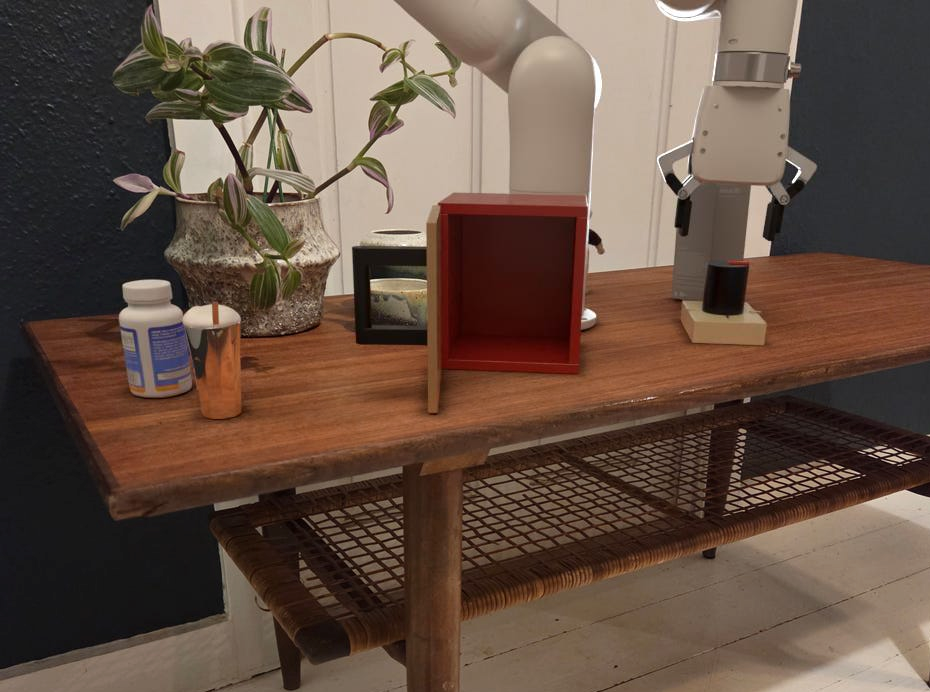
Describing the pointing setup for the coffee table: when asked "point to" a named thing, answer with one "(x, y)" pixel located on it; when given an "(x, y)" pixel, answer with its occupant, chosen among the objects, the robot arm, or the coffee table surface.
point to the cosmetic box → (710, 236)
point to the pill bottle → (154, 340)
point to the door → (431, 332)
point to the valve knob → (725, 287)
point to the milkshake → (215, 358)
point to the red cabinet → (512, 281)
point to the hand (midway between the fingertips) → (725, 237)
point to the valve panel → (723, 325)
